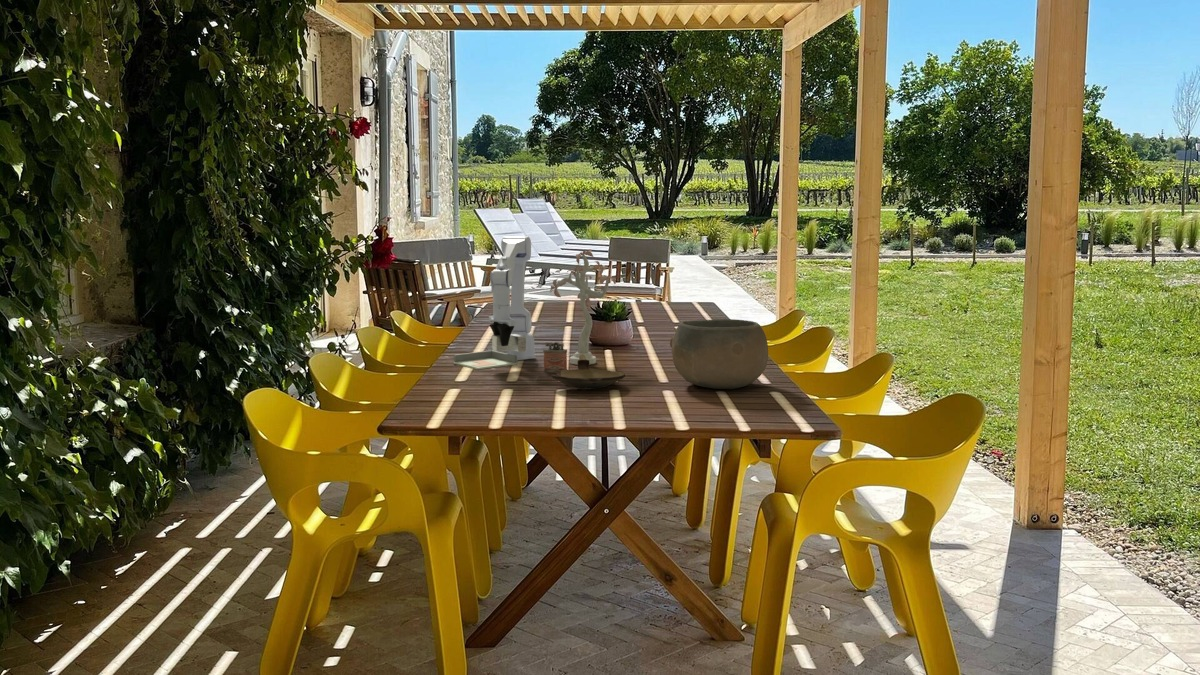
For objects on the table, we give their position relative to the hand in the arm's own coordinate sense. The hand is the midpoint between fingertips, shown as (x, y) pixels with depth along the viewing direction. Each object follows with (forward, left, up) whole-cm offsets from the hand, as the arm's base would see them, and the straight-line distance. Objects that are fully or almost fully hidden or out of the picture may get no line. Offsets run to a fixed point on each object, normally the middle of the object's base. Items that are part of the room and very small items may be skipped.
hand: (502, 345), depth 337 cm
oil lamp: (-4, +43, -9) cm, 44 cm away
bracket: (-1, +2, -2) cm, 3 cm away
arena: (-1, -13, -8) cm, 16 cm away
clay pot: (-34, +69, -9) cm, 77 cm away
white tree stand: (-30, +6, -9) cm, 32 cm away
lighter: (-11, +15, -9) cm, 21 cm away
